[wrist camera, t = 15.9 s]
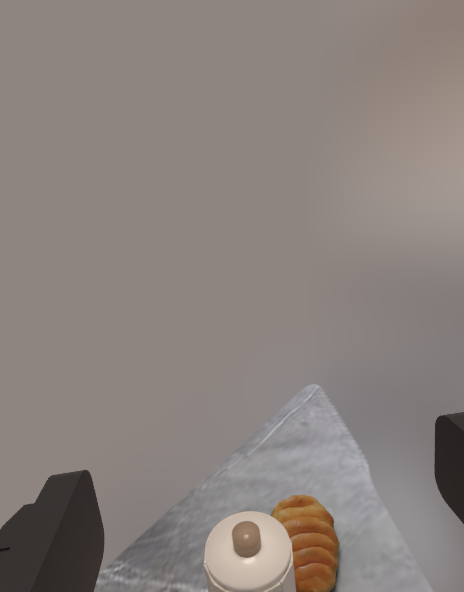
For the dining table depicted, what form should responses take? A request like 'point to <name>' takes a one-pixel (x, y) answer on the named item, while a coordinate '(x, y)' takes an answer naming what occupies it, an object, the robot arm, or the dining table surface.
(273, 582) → the ribbed lidded canister
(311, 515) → the pastry
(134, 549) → the dining table surface
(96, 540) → the robot arm
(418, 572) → the dining table surface
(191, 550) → the dining table surface
